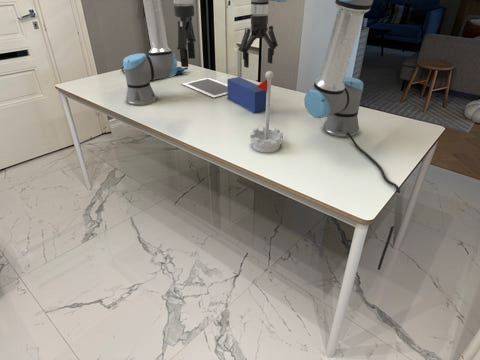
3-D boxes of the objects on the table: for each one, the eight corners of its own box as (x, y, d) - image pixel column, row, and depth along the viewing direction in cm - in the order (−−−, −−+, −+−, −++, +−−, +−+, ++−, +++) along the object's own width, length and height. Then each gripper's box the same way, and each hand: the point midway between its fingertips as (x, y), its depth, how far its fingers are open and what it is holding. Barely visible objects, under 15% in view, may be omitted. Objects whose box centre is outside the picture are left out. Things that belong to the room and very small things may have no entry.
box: (266, 110, 170) (267, 89, 164) (254, 113, 167) (255, 92, 161) (239, 96, 188) (239, 76, 182) (227, 98, 185) (227, 79, 179)
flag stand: (273, 136, 144) (277, 64, 128) (288, 150, 134) (294, 73, 118) (245, 141, 141) (245, 68, 124) (257, 156, 130) (260, 77, 114)
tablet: (181, 84, 205) (181, 83, 205) (208, 77, 216) (208, 77, 216) (213, 98, 185) (213, 97, 185) (241, 90, 196) (241, 89, 196)
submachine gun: (173, 61, 239) (192, 66, 223) (173, 67, 241) (193, 72, 225) (127, 70, 221) (144, 76, 204) (128, 76, 223) (146, 83, 206)
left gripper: (181, 1, 139) (186, 55, 151) (165, 8, 118) (172, 70, 130) (199, 1, 138) (202, 55, 150) (186, 8, 118) (191, 70, 129)
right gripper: (276, 11, 155) (274, 59, 167) (230, 16, 144) (231, 67, 156) (287, 13, 150) (284, 62, 162) (240, 18, 139) (240, 70, 150)
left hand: (188, 62), depth 140 cm, fingers open, 13 cm apart
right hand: (258, 65), depth 159 cm, fingers open, 13 cm apart
